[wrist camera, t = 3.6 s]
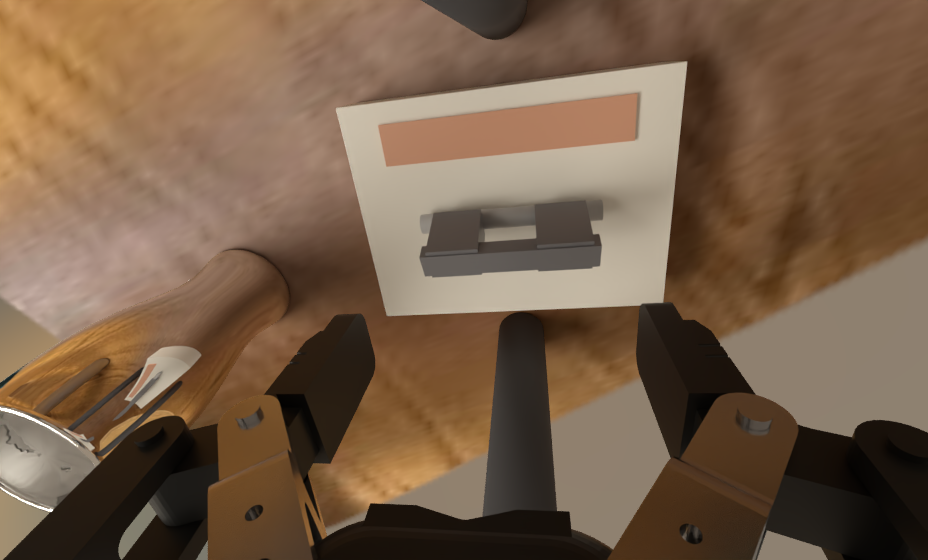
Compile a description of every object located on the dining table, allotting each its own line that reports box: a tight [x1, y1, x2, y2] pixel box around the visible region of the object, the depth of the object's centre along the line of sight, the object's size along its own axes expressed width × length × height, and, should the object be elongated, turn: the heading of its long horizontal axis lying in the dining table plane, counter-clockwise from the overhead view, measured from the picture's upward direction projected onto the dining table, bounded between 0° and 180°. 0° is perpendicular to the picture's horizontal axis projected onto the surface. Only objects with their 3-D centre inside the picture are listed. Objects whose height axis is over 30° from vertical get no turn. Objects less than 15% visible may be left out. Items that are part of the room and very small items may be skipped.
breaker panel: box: [336, 61, 687, 316], centre depth 23 cm, size 12×16×3 cm
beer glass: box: [0, 249, 290, 512], centre depth 23 cm, size 7×7×15 cm
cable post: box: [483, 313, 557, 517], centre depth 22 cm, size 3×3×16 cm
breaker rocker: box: [419, 200, 603, 278], centre depth 20 cm, size 2×9×4 cm, turn 98°
